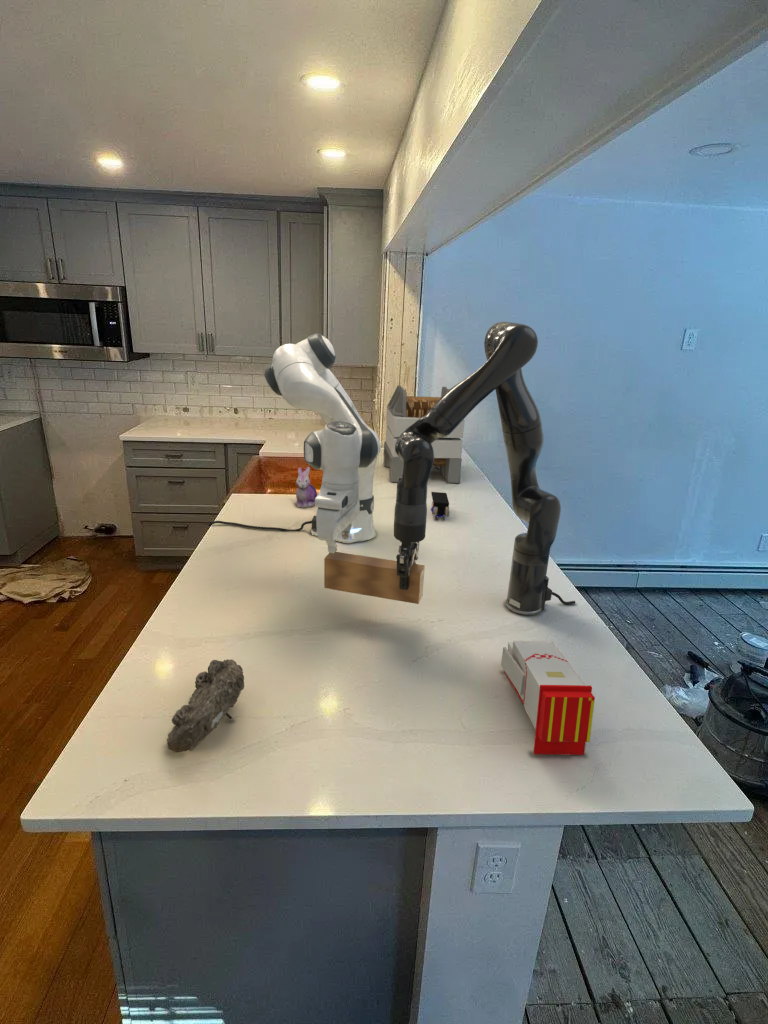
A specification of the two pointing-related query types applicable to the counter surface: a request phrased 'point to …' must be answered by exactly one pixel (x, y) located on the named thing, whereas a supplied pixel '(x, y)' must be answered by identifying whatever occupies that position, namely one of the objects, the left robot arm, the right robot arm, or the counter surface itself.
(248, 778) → the counter surface
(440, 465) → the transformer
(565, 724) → the toy
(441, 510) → the figurine character
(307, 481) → the figurine
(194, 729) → the fossil
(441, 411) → the right robot arm
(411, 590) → the bar
